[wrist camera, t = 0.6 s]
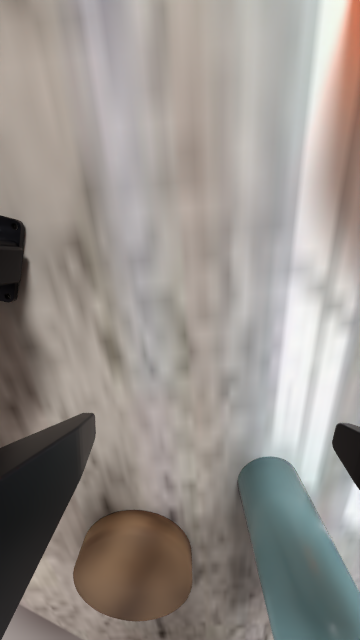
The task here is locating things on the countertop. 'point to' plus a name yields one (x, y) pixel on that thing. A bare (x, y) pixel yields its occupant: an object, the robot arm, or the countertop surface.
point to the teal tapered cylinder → (296, 557)
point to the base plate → (134, 566)
